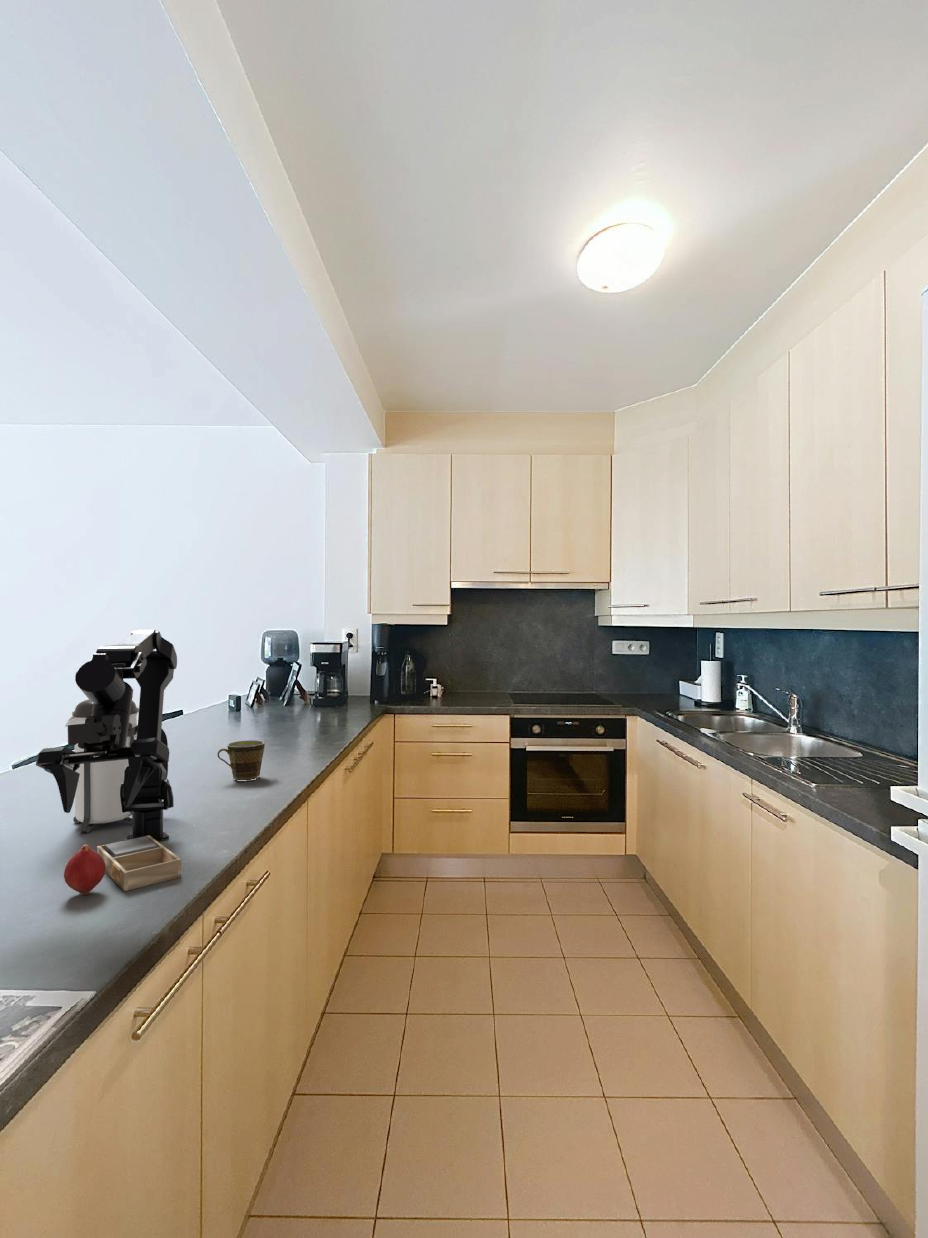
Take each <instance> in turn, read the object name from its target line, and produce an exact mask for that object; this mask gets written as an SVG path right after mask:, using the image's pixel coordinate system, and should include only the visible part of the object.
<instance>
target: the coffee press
mask: <svg viewBox="0 0 928 1238" xmlns="http://www.w3.org/2000/svg"><path fill="white" fill-rule="evenodd" d="M92 709H93V702H92V701H90V700H89V699H86V700H82V701H81V702H78V704H77V705H76V706H75V708H74V711H72V713H71V716H70V717H69V719H68V720H67V721H66V723H65V724H64V726H65V727H64V728H66V727H67V728H68V725H75V724H85V719H86V718H87V716H91V715H92ZM138 714H139V707H137V705H136V703H135V701H134V700H132V703H131V711H130V719H129V723H131V724H132V730H130V731H128V733H127V741H126V746H127V747H131V743H132V742H133V741H134V740H136V739H137V727H138V718H137V717H138ZM161 742H162V743H163V744H165V745H166V746H167V747H168V748H169V746H168V745H169V743H168V737H167V734H166V731H164V729H163V727H162V728H161ZM84 751H86V749H85V748H83V749H81V748H79V747H78V743H77V744H76V745H74V752H84ZM93 757H98V756H93ZM162 765H163V767H164V768H165V770H166V772H167V777H168V775H169V773H168V772H169V762H167V763H162ZM127 766H129V763H128V759H125V760H114V761H104V762H94V763H84V764H80V767H79V768H78V769H77V770H76V772H78V773H80V776H79V780H78V785H77V789H76V793H75V798H74V816H73V820H72V821H73V823H75V824H79V823H81V826H80V828H79V832H80V833H81V834H89V833H90V832H91V831H92V829H93V827H94V826H95V825H98V824H107V823H113V822H117V821H120V820H121V821H122V820H125V821H127V822H128V823H129V824H130V825H131V826H132V812H124V813H122V807H121V799H120V787H121V783H122V782H124V771H125V769H126V767H127Z"/></svg>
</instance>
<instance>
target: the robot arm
mask: <svg viewBox="0 0 928 1238" xmlns="http://www.w3.org/2000/svg"><path fill="white" fill-rule="evenodd" d="M177 666H178V656H177V652H176V650H175V647H174V644H173V643H172V642H170V641H169V640H167V639H165V638H164V637H163V636H162V635H161V632H160V631H159V630H156V629H136V630H134V631H133V630H132V631H131V633H130V635H129V636H127V638H125V639H123V641H121V642H120V643H119V644H118V643H117V644H111V645H110V644H109V645H101V646H99V647H98V648H97V649H96V650H95V652H94V653H92V656H91V657H90V658H89V660H88V661H86V662H84V664H82V665H81V666H80V667H79V669H77V671H76V672H75V677H74V678H75V679H74V681H75V684H76V685H77V687H78V688H79V689H80V690H81V691H82V693H83V695H85V696H86V698H88V699H87V700H90V701H92V702H93V709H92V715H91V716H87V718H86V719H85V724H75V725H68V727H67V746H75V745H76V744H77V743H78V747H79V748H81V749H83V748H85V749H86V751H84V752H75V750H72V749H71V748H69V747H67V746H57V747H46V748H42V749H41V750H40V751H39V752H38V754H37V756H36V760H35V766H37V767H38V768H41V769H43V770H44V771H45V772H48V773H49V774H51V775H52V776H53V778H54V779H55V781H56V784H57V787H58V790H59V794H60V795H59V796H60V800H61V804H62V809H63V813H66V814H70V813H71V810H72V807H73V805H74V803H75V793H76V789H77V785H78V780H79V776H80V773H78V772H76V770H77V769H78V768H79V767H80V764H84V763H94V762H104V761H114V760H125V759H128V763H129V766H127V767H126V769H125V771H124V782H122V783H121V787H120V799H121V807H122V813H124V812H132V815H131V818H132V825H131V828H132V829H131V832H132V833H131V834H128V835H126V840H130V839H135V838H139V837H144V836H149V835H150V836H151V837H152V838H154V839H155V840H156V841H158V842H159V841H163V840H167V839H168V840H169V839H170V834H167V833H166V832H165V831H164V811H167V810H169V809H170V808H174V806H175V803H174V802H175V801H174V794H173V787H172V786H171V783H170V780H169V779H168V776H167V772H166V770H165V768H164V767H163V765H162V763H167V762H168V763H169V761H170V748H169V746H168V747H167V746H166V745H165V744H163V743H162V742H161V728H162V729H163V727H162V726H163V714H164V713H163V712H164V696H165V690H166V688H167V687H168V686H169V685H170V683H171V682H172V680H173V679H174V672H175V670H176V669H177ZM125 679H128V680H129V679H132V680H133V679H135V680H136V682H137V683H138V686H139V688H140V690H139V691H140V692H139V705H138V708H139V712H138V714H137V717H138V718H137V725H138V727H137V739H136V740H134V741H133V742H132V743H131V747H127V746H126V741H127V733H128V731H130V730H132V724H131V723H129V719H130V711H131V703H132V701H133V695H134V688H133V687H132V686H131V685H130V684H129V683H128V682H126V681H125ZM93 756H98V757H93Z"/></svg>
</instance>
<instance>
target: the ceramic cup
mask: <svg viewBox="0 0 928 1238" xmlns="http://www.w3.org/2000/svg"><path fill="white" fill-rule="evenodd" d="M265 744H266V742H265V741H263V740H255V739H254V740H253V739H251V740H250V739H249V740H239V741H233V742H230V743H228V744H227V745H226V746H227V747H226V748H227V749H226V748H221V749H219V750H218V752H217V754H216V755H217V758H218V759H219V760H221V761H222V762H224V763H225V764H226V765H228V766H229V768H231V773H232V779H233V780H234V779H235V780H251V779H255V778H257V777H258V776H259V777H260V774H261V769H262V763H263V757H264V752H265ZM223 751H224V752H226V753H227V754H228V757H229V761H230V763H229V762H227V761H226V760H225V759H223V758H222V757H221V756H220V753H221V752H223Z"/></svg>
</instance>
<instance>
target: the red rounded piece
mask: <svg viewBox="0 0 928 1238" xmlns="http://www.w3.org/2000/svg"><path fill="white" fill-rule="evenodd" d="M105 869H106V867H105V862H104V859H103V858H102V857H101V856H100V855H99V854H98V853H97V850H94V849H91V848H90V845H89V844H83V845H82V847H81V848H80V850H79V851H77V852H76V853H74V855H72V856H71V857H70V858H69V859H68V861H67V862H66V866H65V867H64V871H63V878H64V882H65V884H66V885H67V886H68V887H69V888H70V889H72V890H74V891H75V892H77V893H79V895H88V894H89V893H90V892H91V891H93V890H94V888H96V887H97V885H99V884H100V883H101V882H102V880H103V878H104V877H105V874H106V872H105Z"/></svg>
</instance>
